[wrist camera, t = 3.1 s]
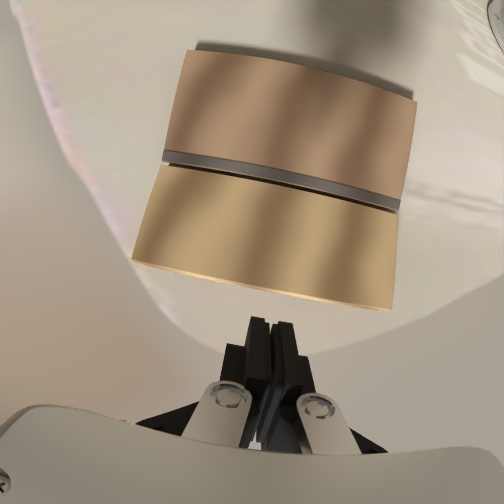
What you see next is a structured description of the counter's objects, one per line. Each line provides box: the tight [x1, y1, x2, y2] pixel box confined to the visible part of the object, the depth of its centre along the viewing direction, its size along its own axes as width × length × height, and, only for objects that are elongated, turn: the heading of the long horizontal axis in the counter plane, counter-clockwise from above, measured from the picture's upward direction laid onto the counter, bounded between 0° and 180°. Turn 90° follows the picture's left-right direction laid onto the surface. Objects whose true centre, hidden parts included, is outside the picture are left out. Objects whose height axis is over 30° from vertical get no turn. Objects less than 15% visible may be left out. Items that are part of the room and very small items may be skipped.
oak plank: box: [132, 165, 397, 311], centre depth 23 cm, size 20×8×2 cm
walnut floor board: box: [162, 50, 417, 211], centre depth 23 cm, size 20×10×2 cm, turn 79°
